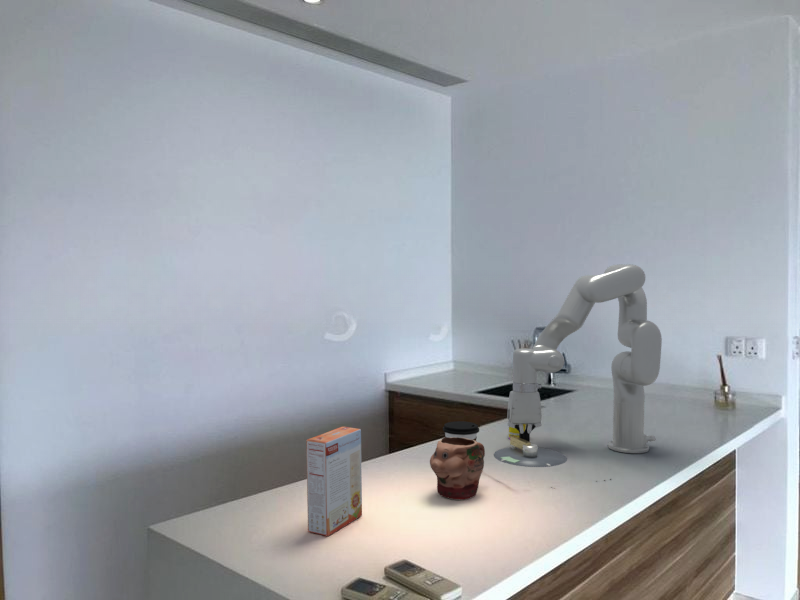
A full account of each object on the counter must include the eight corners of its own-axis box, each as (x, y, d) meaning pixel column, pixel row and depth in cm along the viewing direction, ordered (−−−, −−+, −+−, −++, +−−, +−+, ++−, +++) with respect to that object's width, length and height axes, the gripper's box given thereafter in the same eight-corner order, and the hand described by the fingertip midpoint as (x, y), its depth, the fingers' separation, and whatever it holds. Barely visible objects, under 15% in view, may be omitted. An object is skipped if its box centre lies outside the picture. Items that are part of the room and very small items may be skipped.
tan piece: (540, 456, 198) (540, 444, 198) (527, 457, 196) (527, 446, 196) (517, 445, 210) (517, 434, 210) (505, 447, 208) (505, 435, 208)
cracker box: (341, 511, 156) (341, 425, 155) (363, 516, 153) (363, 428, 152) (305, 532, 144) (305, 438, 143) (327, 537, 141) (327, 441, 140)
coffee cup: (482, 461, 197) (482, 422, 197) (474, 472, 187) (475, 430, 186) (447, 458, 201) (447, 419, 200) (438, 468, 191) (438, 427, 190)
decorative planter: (461, 478, 181) (462, 429, 180) (500, 487, 173) (500, 436, 173) (418, 497, 166) (418, 443, 165) (458, 509, 158) (458, 452, 157)
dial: (540, 447, 213) (540, 443, 213) (582, 466, 193) (582, 461, 193) (480, 454, 205) (480, 449, 205) (517, 474, 185) (517, 469, 185)
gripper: (544, 385, 211) (544, 441, 211) (498, 385, 210) (498, 442, 210) (551, 389, 203) (551, 447, 204) (504, 390, 202) (503, 448, 203)
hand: (524, 444), depth 207 cm, fingers closed
